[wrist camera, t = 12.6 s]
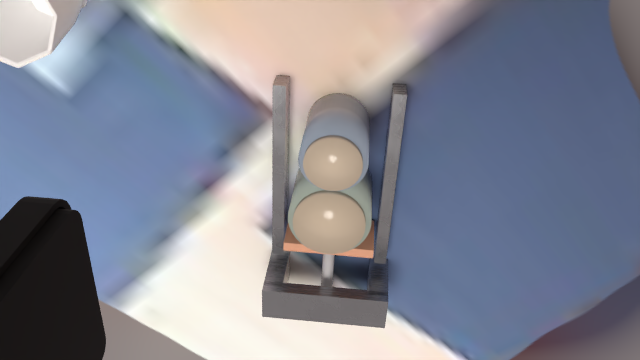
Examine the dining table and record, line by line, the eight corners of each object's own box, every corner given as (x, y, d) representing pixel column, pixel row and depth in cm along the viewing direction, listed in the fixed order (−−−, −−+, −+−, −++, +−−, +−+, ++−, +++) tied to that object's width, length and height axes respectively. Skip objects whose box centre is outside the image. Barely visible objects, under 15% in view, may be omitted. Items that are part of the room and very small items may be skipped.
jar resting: (296, 147, 49) (287, 185, 44) (375, 153, 49) (375, 192, 44) (295, 211, 53) (286, 254, 47) (368, 217, 52) (367, 261, 47)
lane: (272, 75, 46) (260, 105, 41) (410, 85, 45) (413, 116, 41) (272, 273, 56) (262, 316, 52) (384, 283, 56) (384, 327, 51)
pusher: (290, 213, 52) (283, 242, 49) (374, 220, 52) (373, 250, 48) (288, 297, 57) (282, 328, 54) (364, 304, 57) (364, 336, 53)
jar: (308, 91, 46) (298, 131, 41) (372, 95, 46) (371, 136, 40) (306, 147, 49) (296, 192, 43) (367, 152, 49) (365, 198, 43)
